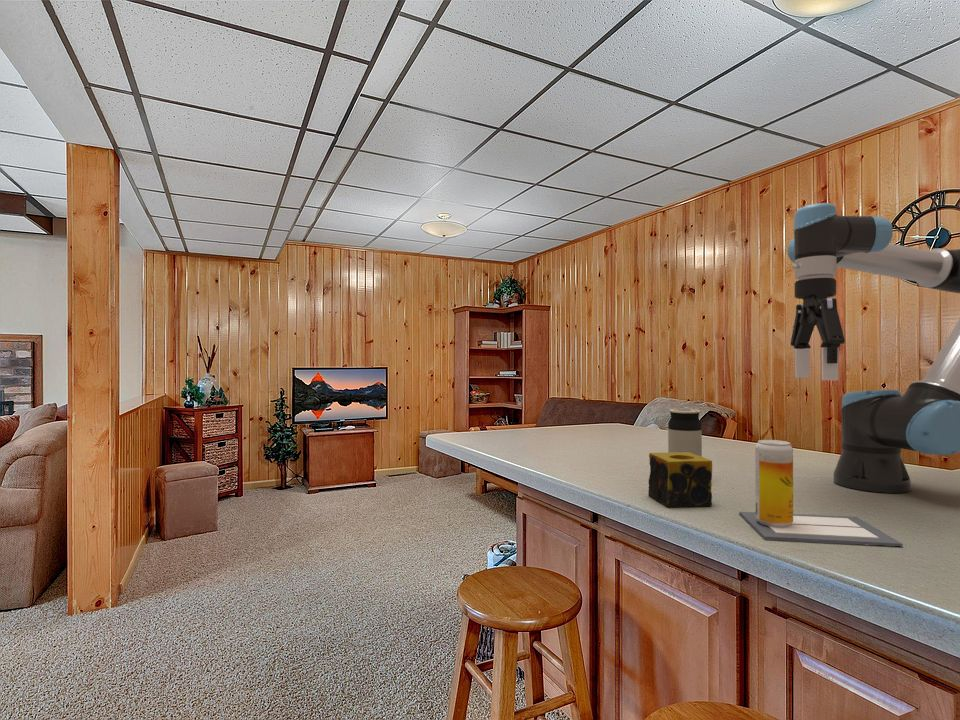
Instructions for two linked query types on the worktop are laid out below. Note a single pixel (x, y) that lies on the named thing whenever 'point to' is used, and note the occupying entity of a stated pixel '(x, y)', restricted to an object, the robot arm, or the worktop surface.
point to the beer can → (774, 483)
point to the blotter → (822, 530)
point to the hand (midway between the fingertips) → (815, 379)
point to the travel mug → (685, 431)
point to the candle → (680, 479)
